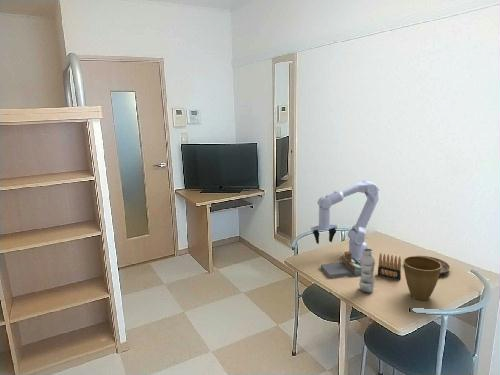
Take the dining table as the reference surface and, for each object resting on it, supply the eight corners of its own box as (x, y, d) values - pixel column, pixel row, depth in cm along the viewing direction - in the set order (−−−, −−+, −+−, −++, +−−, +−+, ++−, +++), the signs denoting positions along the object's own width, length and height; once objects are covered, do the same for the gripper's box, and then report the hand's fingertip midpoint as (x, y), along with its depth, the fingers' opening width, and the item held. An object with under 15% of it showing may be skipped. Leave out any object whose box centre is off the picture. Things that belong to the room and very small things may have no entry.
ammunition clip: (400, 278, 169) (402, 256, 166) (400, 280, 168) (401, 257, 165) (378, 273, 175) (379, 251, 172) (377, 275, 174) (378, 253, 171)
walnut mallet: (344, 260, 186) (344, 247, 184) (356, 271, 174) (356, 257, 172) (340, 261, 186) (340, 248, 184) (351, 272, 173) (351, 258, 171)
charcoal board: (342, 265, 186) (342, 261, 185) (353, 275, 174) (353, 271, 174) (320, 268, 184) (320, 264, 183) (329, 278, 172) (329, 274, 172)
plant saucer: (407, 257, 192) (407, 252, 191) (450, 265, 182) (450, 259, 181) (401, 273, 175) (402, 267, 174) (448, 282, 164) (449, 276, 164)
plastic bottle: (366, 295, 156) (367, 254, 151) (356, 288, 162) (357, 248, 157) (377, 292, 158) (379, 251, 154) (366, 285, 164) (368, 246, 160)
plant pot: (445, 297, 152) (448, 263, 148) (427, 309, 144) (430, 273, 140) (412, 284, 164) (415, 252, 160) (394, 294, 155) (396, 261, 152)
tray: (353, 263, 188) (353, 257, 187) (366, 274, 175) (366, 268, 174) (342, 264, 187) (342, 258, 186) (354, 276, 173) (354, 269, 173)
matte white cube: (350, 264, 186) (352, 259, 186) (353, 267, 182) (355, 262, 182) (343, 262, 185) (345, 257, 185) (347, 265, 181) (349, 260, 181)
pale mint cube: (356, 270, 179) (358, 264, 179) (360, 273, 175) (362, 268, 175) (349, 268, 178) (351, 263, 178) (353, 271, 174) (355, 266, 174)
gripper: (314, 222, 183) (314, 246, 186) (339, 219, 185) (339, 243, 188) (309, 218, 190) (309, 241, 193) (334, 216, 192) (334, 239, 195)
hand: (324, 242), depth 191 cm, fingers open, 7 cm apart
